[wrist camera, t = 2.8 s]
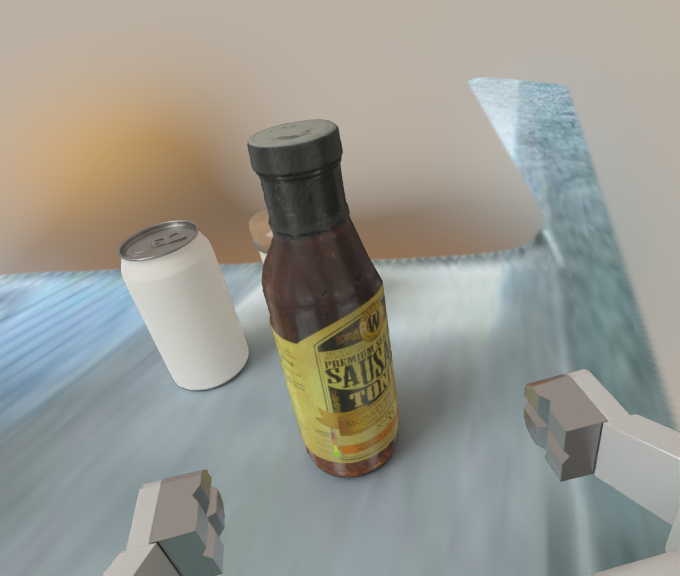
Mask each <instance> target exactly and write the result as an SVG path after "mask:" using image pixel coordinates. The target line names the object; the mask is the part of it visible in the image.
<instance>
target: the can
mask: <svg viewBox="0 0 680 576" xmlns="http://www.w3.org/2000/svg"><path fill="white" fill-rule="evenodd" d="M118 254H119V256H120V257H121V258H122V261H121V274H122V277H123V279H124V282H125V284H126V286H127V288H128V290H129V292H130V294H131V296H132V298H133V300H134V302H135V304H136V306H137V308H138V310H139V312H140V314H141V316H142V318H143V320H144V322H145V324H146V326H147V328H148V330H149V332H150V334H151V336H152V338H153V340H154V342H155V344H156V346H157V348H158V350H159V352H160V354H161V356H162V358H163V360H164V362H165V364H166V366H167V368H168V370H169V372H170V374H171V376H172V377H173V379H174V381H175V382H176V383H177V384H178V385H179V386H180V387H182V388H185V389H189V390H194V391H204V390H209V389H213V388H216V387H219V386H221V385H223V384H225V383H227V382H229V381H230V380H232V379H233V378H234V377H235V376H237V375H238V374H239V373H240V371H241V370H242V369H243V367H244V365H245V363H246V362H247V359H248V356H249V349H248V345H247V342H246V339H245V336H244V334H243V331H242V328H241V325H240V322H239V319H238V317H237V314H236V311H235V308H234V306H233V303H232V300H231V297H230V294H229V292H228V289H227V286H226V283H225V281H224V278H223V275H222V272H221V270H220V267H219V264H218V262H217V259H216V256H215V254H214V251H213V248H212V246H211V244H210V242H209V241H208V239H207V238H206V237H205V236H203V235H202V234H201V233H200V232H199V227H198V225H197V224H196V223H194V222H192V221H188V220H174V221H168V222H163V223H159V224H156V225H153V226H150V227H147V228H145V229H142V230H140V231H138V232H137V233H135V234H133V235H131V236H130V237H128V238H127V239H126V240H125V241H123V243H122V244H121V245H120V246H119V248H118Z"/></svg>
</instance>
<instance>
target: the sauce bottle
mask: <svg viewBox="0 0 680 576" xmlns="http://www.w3.org/2000/svg"><path fill="white" fill-rule="evenodd" d="M248 150H249V155H250V160H251V165H252V168H253V170H254V171H255V172H256V174H257V175H258V176H259V177H260V180H261V185H262V189H263V192H264V199H265V202H266V205H267V211H268V214H269V221H268V223H269V226H270V228H271V230H272V233H273V238H272V240H271V244H270V247H269V250H268V252H267V256H266V258H265V261H264V265H263V273H262V286H263V293H264V296H265V298H266V302H267V305H268V310H269V313H270V325H271V329H272V332H273V336H274V339H275V343H276V346H277V350H278V353H279V357H280V361H281V364H282V368H283V371H284V375H285V379H286V383H287V386H288V390H289V394H290V398H291V401H292V405H293V408H294V412H295V416H296V419H297V423H298V426H299V430H300V433H301V437H302V439H303V441H304V443H305V445H306V449H307V452H308V453H309V455H310V457H311V458H312V460H313V461H314V462H315V464H316V465H317V466H318V467H319V468H320V469H322V470H323V471H324V472H327V473H329V474H331V475H334V476H338V477H349V478H350V477H355V476H360V475H363V474H366V473H368V472H371V471H373V470H375V469H377V468H378V467H379V466H381V465H383V464H384V463H385V461H386V460H387V459H389V458H390V457H391V455H392V452H393V450H394V447H395V443H396V441H397V433H398V427H399V414H398V405H397V396H396V388H395V380H394V372H393V363H392V353H391V345H390V338H389V328H388V321H387V314H386V305H385V296H384V288H383V281H382V279H381V277H380V276H379V274H378V272H377V270H376V269H375V267H374V265H373V263H372V262H371V260H370V258H369V256H368V254H367V252H366V250H365V248H364V246H363V244H362V242H361V240H360V237H359V235H358V233H357V231H356V229H355V227H354V225H353V223H352V221H351V219H350V216H349V208H348V204H347V203H346V199H345V193H344V187H343V181H342V174H341V167H340V162H341V156H342V153H343V151H342V144H341V140H340V135H339V130H338V126H337V125H336V124H334V123H333V122H331V121H329V120H318V119H317V120H306V121H298V122H292V123H286V124H281V125H278V126H274V127H271V128H268V129H265V130H262V131H260V132H258V133H256V134H254V135H252V136H251V137H250V138H249V139H248Z"/></svg>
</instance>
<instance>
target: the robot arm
mask: <svg viewBox="0 0 680 576" xmlns="http://www.w3.org/2000/svg"><path fill="white" fill-rule="evenodd" d="M525 397H526V398H527V400H528V401H529V402H528V403H527V405H526V406H525V407H524V419H525V422H526V426H527V429H528V431H529V433H530V435H531V437H532V439H533V440H534V442H535V444H536V445H538V446H540V447H542V448H544V449H546V461H547V462H548V464H549V465H550V467H551V468H552V470H553V471H554V473H555V474H556V476H557V477H558V479H559V480H560V482H561V481H565V480H569V479H573V478H577V477H582V476H586V475H590V474H594V473H595V474H594V475H595V476H596V477H598V478H599V479H601V480H602V481H604V482H606V483H607V484H609V485H610V486H612V487H613V488H615V489H616V490H618V491H619V492H621V493H623V494H624V495H626V496H627V497H629V498H630V499H632V500H633V501H635V502H636V503H638V504H639V505H641V506H643V507H644V508H646V509H647V510H649V511H650V512H652V513H653V514H655V515H656V516H658V517H660V518H661V519H663V520H664V521H666V522H667V523H669V524H670V525H672V528H671V530H670V533H669V536H668V539H667V542H666V546H665V551H666V552H667V553H664V554H660V555H657V556H653V557H650V558H646V559H643V560H639V561H635V562H632V563H628V564H625V565H621V566H618V567H614V568H611V569H607V570H603V571H600V572H596V573H593V574H589V575H586V576H680V432H677V431H675V430H673V429H670V428H668V427H666V426H663V425H661V424H659V423H656V422H654V421H652V420H649V419H647V418H644V417H642V416H640V415H637V414H635V415H630V414H629V413H628V412H627V411H626V410H625V409H624V408H623V407H622V406H621V405H620V404H619V402H618V401H617V400H616V399H615V398H614V397H613V396H612V395H611V394H610V393H609V392H608V391H607V390H606V389H605V387H604V386H603V385H602V384H601V383H600V382H599V381H598V380H597V379H596V378H595V377H594V376H593V375H592V374H591V372H590V371H588V370H586V369H583V370H579V371H575V372H571V373H567V374H565V375H563V374H562V375H559V376H555V377H552V378H548V379H544V380H541V381H537V382H533V383H530V384H527V385H526V387H525ZM224 525H225V515H224V507H223V502H222V498H221V495H220V493H219V491H218V489H216V488H214V487H212V486H211V476H210V475H209V473H208V471H207V470H201V471H196V472H192V473H188V474H184V475H179V476H175V477H171V478H167V479H163V480H159V481H155V482H151V483H147V484H143V486H142V487H141V489H140V491H139V494H138V498H137V503H136V507H135V512H134V517H133V521H132V526H131V530H130V535H129V539H128V544H127V548H126V551H123V552H120V553H119V554H118V555H117V557H116V558H115V559H114V561H113V562H112V563H111V565H110V566H109V567H108V569H107V570H106V571H105V572H104V574H103V575H102V576H216V575H220V574H222V572H223V550H224V545H223V544H222V542H221V540H220V538H219V536H220V534H221V532H222V531H223V529H224Z"/></svg>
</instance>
